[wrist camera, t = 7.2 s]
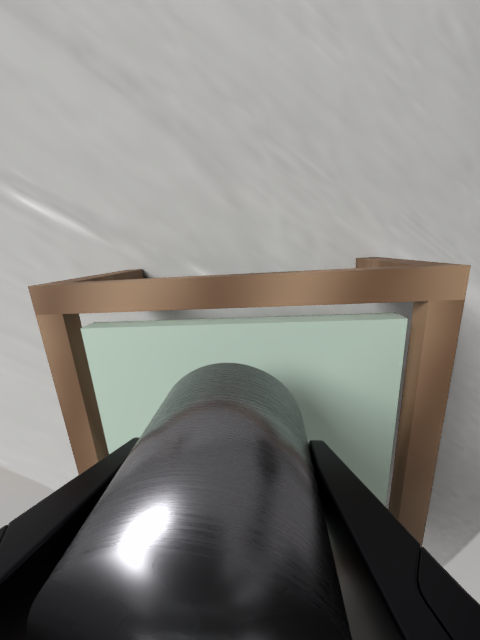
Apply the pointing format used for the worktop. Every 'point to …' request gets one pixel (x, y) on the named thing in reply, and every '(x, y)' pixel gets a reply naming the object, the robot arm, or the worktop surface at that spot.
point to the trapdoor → (272, 357)
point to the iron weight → (204, 528)
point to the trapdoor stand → (269, 291)
